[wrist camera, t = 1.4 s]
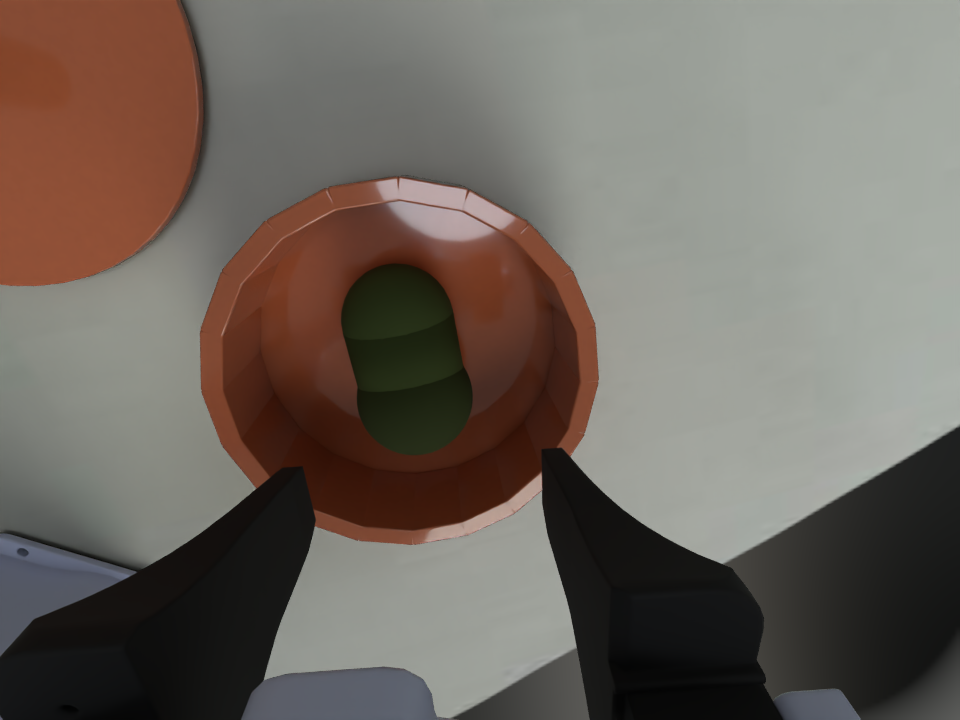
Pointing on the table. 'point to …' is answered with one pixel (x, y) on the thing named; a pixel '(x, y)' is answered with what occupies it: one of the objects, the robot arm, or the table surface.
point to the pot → (329, 374)
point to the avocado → (406, 359)
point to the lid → (92, 132)
